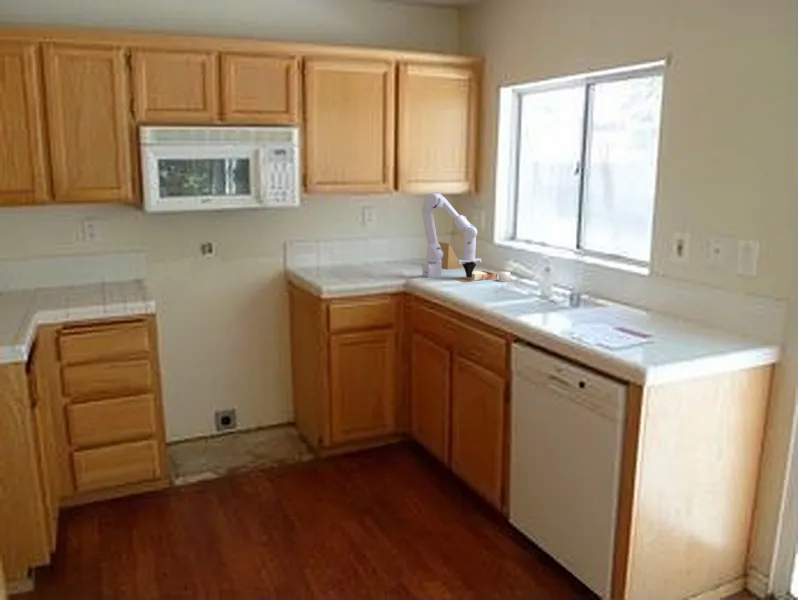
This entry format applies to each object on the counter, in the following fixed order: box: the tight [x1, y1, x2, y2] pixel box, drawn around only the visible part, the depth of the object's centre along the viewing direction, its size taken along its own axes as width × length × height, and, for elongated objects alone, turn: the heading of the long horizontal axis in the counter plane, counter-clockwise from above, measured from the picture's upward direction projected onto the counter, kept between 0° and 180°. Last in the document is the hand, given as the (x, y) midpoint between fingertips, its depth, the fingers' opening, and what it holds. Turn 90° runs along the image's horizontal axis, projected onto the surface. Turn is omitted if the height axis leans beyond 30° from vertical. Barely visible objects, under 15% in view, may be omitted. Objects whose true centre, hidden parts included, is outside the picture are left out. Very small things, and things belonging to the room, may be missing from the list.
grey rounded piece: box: [497, 270, 511, 286], centre depth 342 cm, size 6×6×6 cm
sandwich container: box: [438, 241, 464, 270], centre depth 388 cm, size 9×15×15 cm, turn 133°
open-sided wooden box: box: [449, 270, 499, 283], centre depth 347 cm, size 22×12×4 cm, turn 124°
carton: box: [465, 270, 487, 280], centre depth 348 cm, size 8×7×3 cm
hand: (468, 277), depth 345 cm, fingers closed
